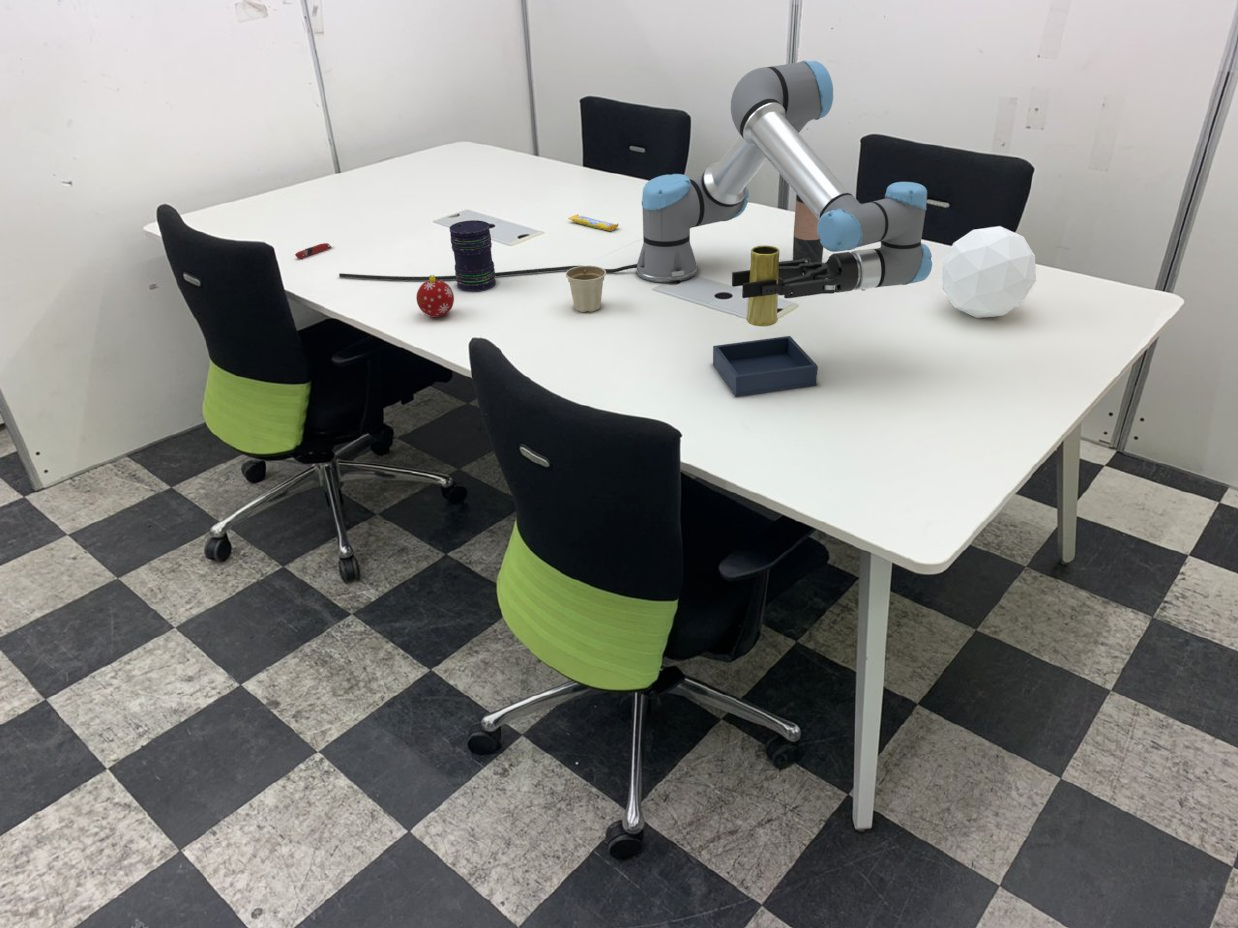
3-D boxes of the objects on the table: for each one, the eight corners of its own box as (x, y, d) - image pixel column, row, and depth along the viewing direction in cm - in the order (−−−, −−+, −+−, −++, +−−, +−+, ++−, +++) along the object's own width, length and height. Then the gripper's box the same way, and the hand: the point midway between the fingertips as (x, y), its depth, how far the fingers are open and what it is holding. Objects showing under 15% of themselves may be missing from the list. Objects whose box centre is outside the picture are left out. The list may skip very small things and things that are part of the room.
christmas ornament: (415, 312, 221) (409, 272, 216) (451, 305, 224) (445, 266, 218) (424, 325, 214) (417, 284, 209) (460, 318, 217) (454, 277, 212)
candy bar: (620, 229, 267) (620, 222, 266) (611, 233, 265) (610, 226, 264) (577, 219, 277) (577, 212, 276) (568, 222, 274) (567, 216, 273)
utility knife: (297, 260, 255) (296, 253, 254) (295, 259, 256) (293, 252, 255) (332, 248, 263) (331, 241, 262) (330, 247, 263) (328, 240, 262)
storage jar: (503, 280, 237) (497, 222, 229) (483, 294, 229) (475, 235, 221) (470, 275, 240) (463, 218, 232) (449, 289, 233) (440, 230, 225)
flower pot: (613, 301, 222) (611, 267, 217) (599, 317, 215) (597, 281, 210) (576, 298, 225) (574, 264, 220) (562, 313, 217) (559, 278, 213)
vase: (743, 315, 185) (745, 245, 177) (774, 313, 185) (777, 243, 177) (749, 328, 179) (752, 256, 172) (781, 325, 180) (785, 254, 172)
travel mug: (822, 273, 232) (829, 194, 221) (791, 273, 233) (796, 194, 222) (821, 262, 239) (827, 184, 228) (791, 262, 240) (796, 184, 229)
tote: (735, 397, 180) (736, 377, 177) (712, 364, 192) (713, 345, 189) (816, 385, 182) (818, 365, 180) (788, 354, 194) (790, 335, 192)
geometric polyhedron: (981, 350, 208) (979, 302, 191) (926, 293, 218) (919, 243, 201) (1055, 301, 206) (1059, 248, 189) (995, 246, 217) (994, 191, 200)
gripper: (870, 306, 175) (753, 322, 171) (830, 273, 190) (722, 286, 187) (874, 268, 171) (754, 283, 167) (834, 237, 186) (723, 250, 183)
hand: (737, 285), depth 177 cm, fingers closed on vase, 5 cm apart
